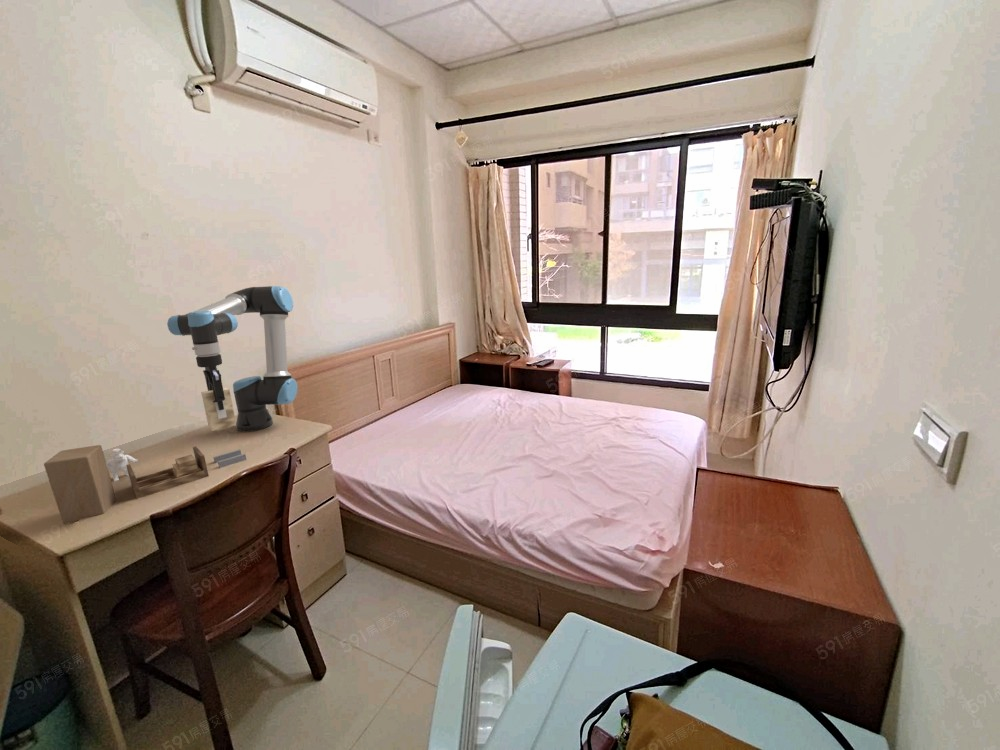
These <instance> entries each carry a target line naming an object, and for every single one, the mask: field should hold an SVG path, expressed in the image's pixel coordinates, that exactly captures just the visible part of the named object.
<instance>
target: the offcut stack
mask: <svg viewBox="0 0 1000 750" xmlns="http://www.w3.org/2000/svg"><path fill="white" fill-rule="evenodd" d="M174 462H175V463H173V464H172V465H171V466H172V468H173V474H174V477H175V478H179V477H182V476H185V475H188V474H192V473H195V472H198V471H201V469H200V468H199V466H198V465H197V462H196V459H195V456H194V454H188V455H185V456H181V457H178V458H175V459H174Z"/></svg>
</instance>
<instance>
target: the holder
mask: <svg viewBox="0 0 1000 750" xmlns="http://www.w3.org/2000/svg"><path fill="white" fill-rule="evenodd" d="M246 455H247V454H246V453H242V451H241V449H235V450H231V451H229V452H226V453H223V454H222V453H221V454H218V455H214V456H213V462H214V463H215V464H216V463H218V468H219V469H220V468H224V467H228V466H230V465H233V464H238V463H240V462H244V461H246V460H247V456H246Z"/></svg>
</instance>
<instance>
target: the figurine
mask: <svg viewBox="0 0 1000 750" xmlns="http://www.w3.org/2000/svg"><path fill="white" fill-rule="evenodd" d="M124 453H125V451H124V450H122V449H121V448H114V449H112V450H111V453H110V455H109V457H111V458H110V459H108V460H106V464H107V467H108V471H109V472H110V473H111V474H112V475H111V476H112V479H113V482H118V481H120V478H119V472H124V475H125V476H127V477H129V474H128V470H127V467H126V465H128V464H129V462H130V463H134V464H136V463H138V462H139V459H136V458H134V457H133V456H131V455H130V454H124Z"/></svg>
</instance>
